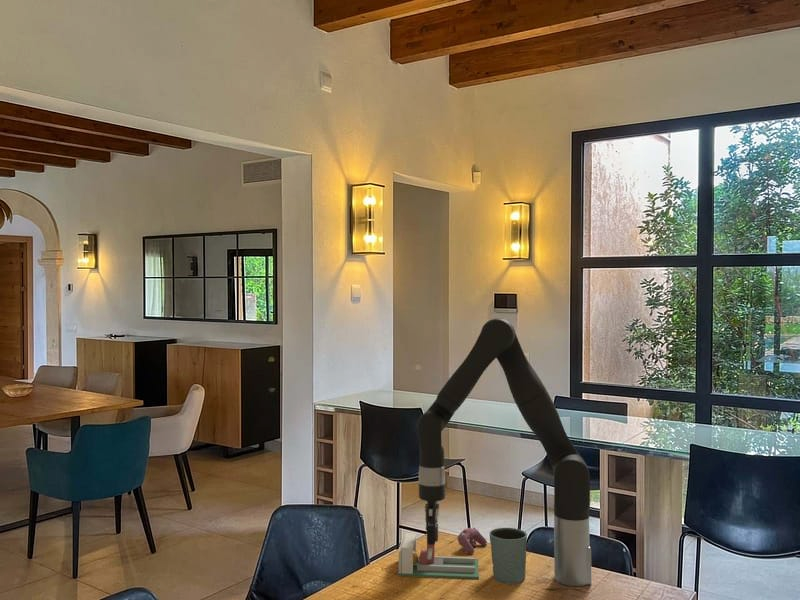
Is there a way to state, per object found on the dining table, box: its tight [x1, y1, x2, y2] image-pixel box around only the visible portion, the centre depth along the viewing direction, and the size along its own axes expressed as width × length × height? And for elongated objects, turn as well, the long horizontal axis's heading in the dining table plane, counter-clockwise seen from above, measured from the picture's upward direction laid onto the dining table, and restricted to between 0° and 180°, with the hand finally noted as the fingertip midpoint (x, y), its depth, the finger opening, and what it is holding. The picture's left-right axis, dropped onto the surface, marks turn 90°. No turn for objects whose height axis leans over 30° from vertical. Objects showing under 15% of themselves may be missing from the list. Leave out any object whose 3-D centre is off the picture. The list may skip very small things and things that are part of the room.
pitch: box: [397, 555, 480, 580], centre depth 185 cm, size 22×13×2 cm, turn 84°
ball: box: [413, 551, 419, 565], centre depth 186 cm, size 4×4×4 cm
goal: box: [398, 532, 417, 574], centre depth 186 cm, size 4×12×7 cm, turn 174°
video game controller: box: [457, 527, 488, 555], centre depth 201 cm, size 10×5×7 cm, turn 145°
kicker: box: [419, 523, 444, 565], centre depth 186 cm, size 6×14×11 cm, turn 174°
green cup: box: [489, 527, 528, 585], centre depth 179 cm, size 10×10×12 cm
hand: (432, 539), depth 186 cm, fingers open, 8 cm apart
